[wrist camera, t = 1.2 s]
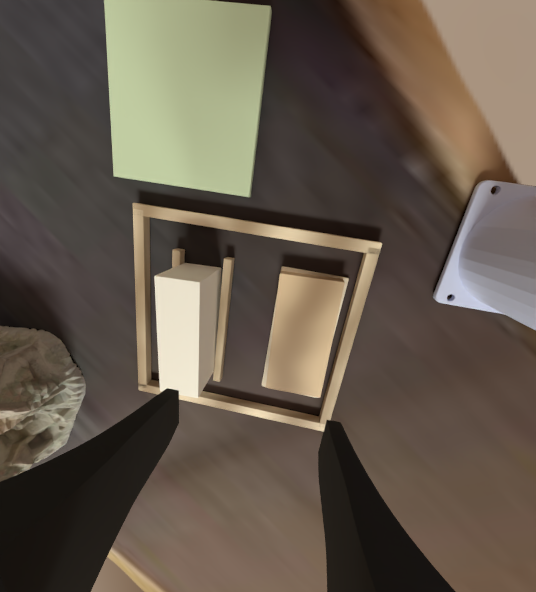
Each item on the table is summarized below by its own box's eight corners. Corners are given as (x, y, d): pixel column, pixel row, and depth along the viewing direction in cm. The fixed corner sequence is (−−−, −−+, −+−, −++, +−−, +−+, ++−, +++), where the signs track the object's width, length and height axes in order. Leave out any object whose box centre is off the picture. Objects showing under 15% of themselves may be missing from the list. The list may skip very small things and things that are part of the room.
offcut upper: (342, 278, 19) (344, 282, 18) (319, 389, 22) (320, 397, 21) (281, 270, 19) (279, 273, 18) (267, 380, 22) (265, 387, 21)
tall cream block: (221, 267, 20) (199, 282, 16) (217, 363, 23) (198, 398, 19) (185, 262, 20) (154, 276, 16) (186, 358, 23) (159, 391, 19)
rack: (379, 241, 18) (382, 243, 17) (325, 425, 23) (326, 432, 22) (139, 203, 19) (132, 202, 18) (143, 384, 25) (138, 390, 24)
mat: (271, 12, 15) (270, 6, 14) (250, 197, 18) (249, 197, 17) (109, -3, 15) (103, -10, 15) (118, 177, 19) (113, 176, 18)
